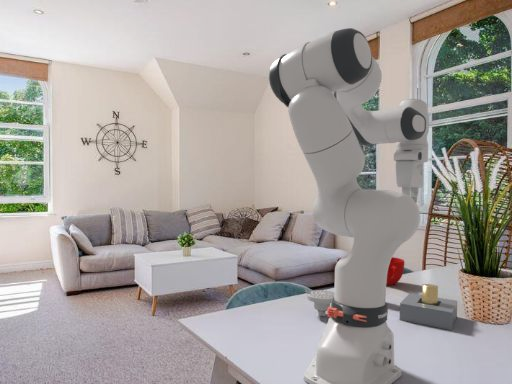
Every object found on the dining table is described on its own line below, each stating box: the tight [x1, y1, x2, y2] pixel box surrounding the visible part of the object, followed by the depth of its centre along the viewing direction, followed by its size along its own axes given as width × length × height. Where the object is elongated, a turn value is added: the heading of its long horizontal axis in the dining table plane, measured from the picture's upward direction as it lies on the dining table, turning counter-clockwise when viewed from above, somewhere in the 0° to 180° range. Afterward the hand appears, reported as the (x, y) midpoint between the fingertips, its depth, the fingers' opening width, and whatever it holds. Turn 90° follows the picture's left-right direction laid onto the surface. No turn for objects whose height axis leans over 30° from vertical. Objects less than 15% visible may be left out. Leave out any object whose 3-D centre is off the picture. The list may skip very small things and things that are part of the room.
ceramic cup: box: [386, 256, 405, 286], centre depth 159 cm, size 13×17×10 cm
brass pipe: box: [421, 283, 439, 306], centre depth 118 cm, size 4×4×10 cm
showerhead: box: [305, 289, 334, 317], centre depth 119 cm, size 9×7×10 cm
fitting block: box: [399, 292, 458, 331], centre depth 118 cm, size 14×14×5 cm
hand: (410, 203), depth 115 cm, fingers open, 8 cm apart
